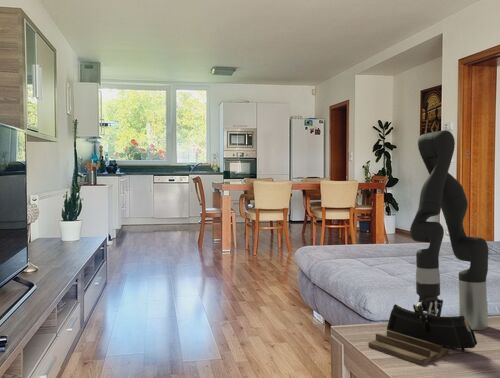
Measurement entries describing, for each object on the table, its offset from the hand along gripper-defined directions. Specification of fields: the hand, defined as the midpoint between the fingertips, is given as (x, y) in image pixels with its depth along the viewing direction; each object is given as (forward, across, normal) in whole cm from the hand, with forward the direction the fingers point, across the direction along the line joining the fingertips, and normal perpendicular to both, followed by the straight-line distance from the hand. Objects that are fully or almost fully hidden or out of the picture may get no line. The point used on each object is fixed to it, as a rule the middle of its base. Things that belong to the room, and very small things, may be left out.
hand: (429, 331), depth 155 cm
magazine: (+4, 0, 0) cm, 4 cm away
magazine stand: (+4, +12, 0) cm, 12 cm away
